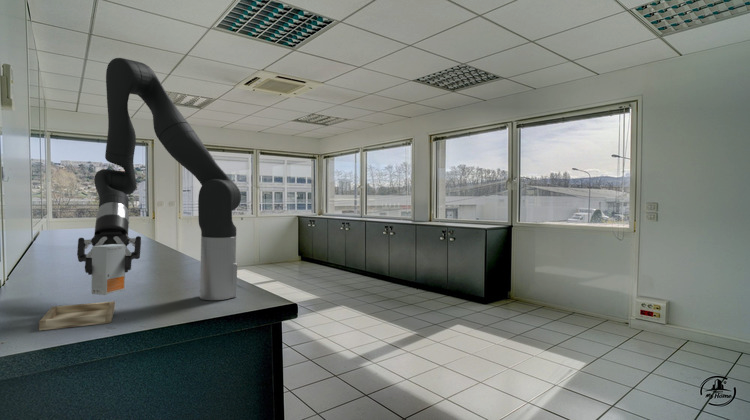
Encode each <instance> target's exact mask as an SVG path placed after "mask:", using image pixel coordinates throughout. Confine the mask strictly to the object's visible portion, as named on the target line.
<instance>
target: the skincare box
mask: <svg viewBox="0 0 750 420" xmlns="http://www.w3.org/2000/svg"><path fill="white" fill-rule="evenodd" d="M91 249H92V275H91V294H92V295H99V296H100V295H101V296H107V295H109V294H114V293H117V292H118V293H119V292H122V291H125V290H126V281H125V280H126V273H125V270H124V266H125V245H121V244H109V245H101V246H93V245H92V247H91Z"/></svg>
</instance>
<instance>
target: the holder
mask: <svg viewBox="0 0 750 420" xmlns="http://www.w3.org/2000/svg"><path fill="white" fill-rule="evenodd" d="M115 310H116V300H114V301H102V302H93V303H89V302H88V303H80V304H69V305H68V304H67V305H58V306H57V305H54V306H51V307H50V308H49V309H48V311H47V312H46V313H45V314H44V315H43V316H42V317H41V319H40V320H39V321H38V323H39V324H38V327H39V328H38V331H47V330H57V329H65V328H67V329H68V328H76V327H83V326H93V325H95V326H96V325H104V324H111V323H112V320H113V316H114V314H115Z"/></svg>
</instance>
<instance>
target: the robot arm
mask: <svg viewBox="0 0 750 420" xmlns="http://www.w3.org/2000/svg"><path fill="white" fill-rule="evenodd" d="M105 71H106V73H105V86H106V103H107V115H108V116H107V119H108V122H107V123H108V126H107V127H108V128H107V137H106V138H107V139H106V144H105V145H106V147H105V152H104V153H105V155H104V157H105V160H106V161H107V162H108V163H111V164H113V165H116V166H119V167H121V168H122V169H123V170H124V171H123V170H116V169H115V170H114V169H110V168H109V169H108V168H103V169H100V170H98V171H97V172H95V173H96V174H94V180H93V181H94V185H95V189H96V192H97V195H98V198H99V201H98V210H97V213H96V216H95V217H96V219H95V227H94V235H93V237H92V238H89V239H85V238H84V237H79V238H78V240H77V254H76V256H77V261H78V262H79V263H83V262H84V271H85V274H88V276H92V248H91V249H90V251H89V252H88V253H87V254H86V249H88V248H89V246H90V245H91V246H92V247H93V246H101V245H109V244H121V245H125V266H124V270H125V274H126V273H128V272H129V271H131V270H132V262H133V260H138V259H140V258H141V251H142V250H141V249H142V246H141V245H142V237H141V236H140V235H138V236H136V237H133V238H132V237H131V238H130V237H129V224H130V214H129V206H130V205H129V202H130V201H129V195H131V194H133V193H134V192H135V191H136V189H137V185H138V184H137V179H136V174H135V167H134V156H135V149H136V144H137V139H136V138H137V136H136V131H135V129H134V125H133V123H132V120H131V117H130V114H129V108H128V106H129V105H128V104H129V98H130V95H136V96H138V97H140V99H141V100H142V101H143V102H144V103H145V105H146V106H147V108H148V109H149V110H150V112H151V114H152V124H153V129H154V133H155V135H156V137H157V139H158V141H160V143H161V145H162V146H163V147H164V148H165V149H164V150H166V151H167V153H168V154H169V155H170V156H171V157H172V158H173V159H174V160H175V161H176V162H178V164H180V165H181V166H182V167H184V168H185V170H187V171H188V172H190V174H192V176H194V177H195V178H196V179H197V180H198V182H199V183H200V185H201V186H200V189H199V191H198V200H197V203H198V204H197V205H198V206H197V208H198V209H197V212H198V225H199V229H200V233H201V234H200V269H199V271H200V272H199V275H200V277H199V278H200V279H199V299H201V300H205V301H222V300H228V299H232V298H237V293H238V292H237V288H238V287H237V286H238V263H237V262H236V260H237V259H236V257H237V226H236V225H235V224H234V221H233V211H235V210H236V209H237V208H238V207H239V206H240V204H241V201H242V194H241V190H240V189H239V187H238V186H237V184H236V183H235V182H234V181H233V180H232V179H231V178H230V177H229V175H227V174H226V172H225V171H224V170H223V169H222V168H221V167H220V166H219V164H218V163H217V161H215V159H214V158H213V156H212V155H211V153H210V152H209V150H208V149H207V147H206V146H205V144H204V142H203V141H202V140H201V139H200V137H199V135H198V134H197V133H196V131H195V130H194V129H193V127H192V126H191V124H190V123H189V122H188V121H187V119H186V118H185V117H184V115H183V114H182V113H181V112H180V110H179V109H178V107H177V106H176V105H175V103H174V102H173V100H172V99H171V97H170V95H168V93H167V91H166V90H165V88H164V87H163V85H162V82H161V81H160V79H159V78H158V76H157V74H156V73H155V72H154V70H153V69H152V68H151V67H150V66H149V65H147V64H146V63H143V62H140V61H136V60H132V59H128V58H124V57H116V58H115V57H114V58H113V59H111V60H110V61H109V63H108V64H107V67H106V70H105ZM129 244H131V246H133V247H134V251H132V252H131V250H129V249H128V246H129Z"/></svg>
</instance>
